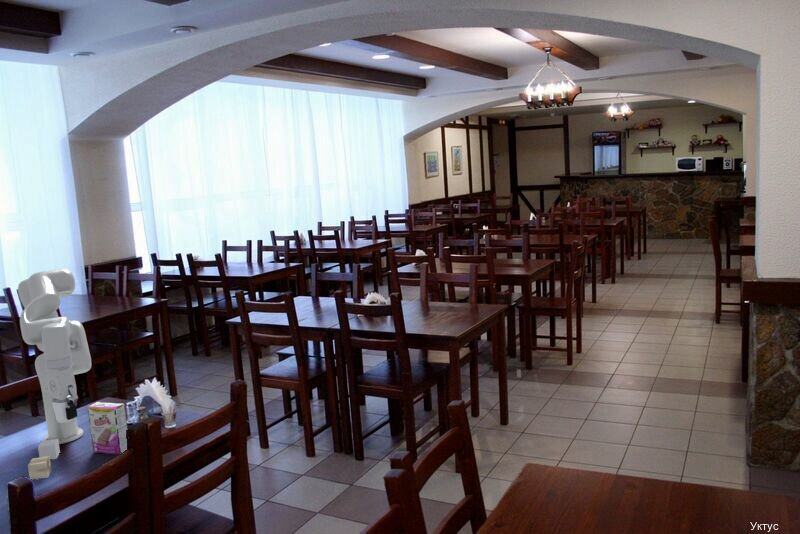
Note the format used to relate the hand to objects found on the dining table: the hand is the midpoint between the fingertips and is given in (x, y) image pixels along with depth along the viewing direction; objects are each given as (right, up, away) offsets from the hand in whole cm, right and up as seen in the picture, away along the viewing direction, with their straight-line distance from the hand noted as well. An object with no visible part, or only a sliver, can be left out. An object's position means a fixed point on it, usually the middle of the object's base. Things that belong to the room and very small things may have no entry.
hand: (66, 415), depth 212 cm
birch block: (-6, -18, -4) cm, 19 cm away
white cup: (0, -1, 0) cm, 1 cm away
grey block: (-10, -16, +9) cm, 21 cm away
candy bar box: (+10, -15, +11) cm, 21 cm away
